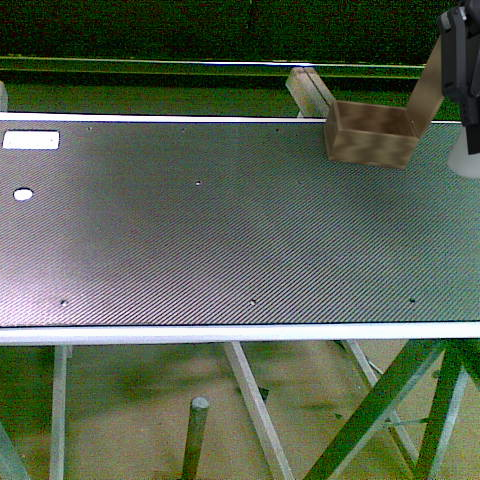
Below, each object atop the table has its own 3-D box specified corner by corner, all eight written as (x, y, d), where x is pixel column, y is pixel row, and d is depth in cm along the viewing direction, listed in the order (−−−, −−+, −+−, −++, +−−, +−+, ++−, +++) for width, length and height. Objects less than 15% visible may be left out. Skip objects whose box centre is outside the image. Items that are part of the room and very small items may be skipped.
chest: (328, 160, 93) (338, 130, 88) (323, 128, 101) (332, 99, 96) (404, 169, 91) (420, 139, 87) (393, 137, 100) (406, 107, 95)
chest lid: (462, 55, 76) (525, 63, 75) (443, 27, 84) (500, 34, 83) (419, 137, 86) (473, 145, 86) (405, 105, 94) (455, 112, 94)
